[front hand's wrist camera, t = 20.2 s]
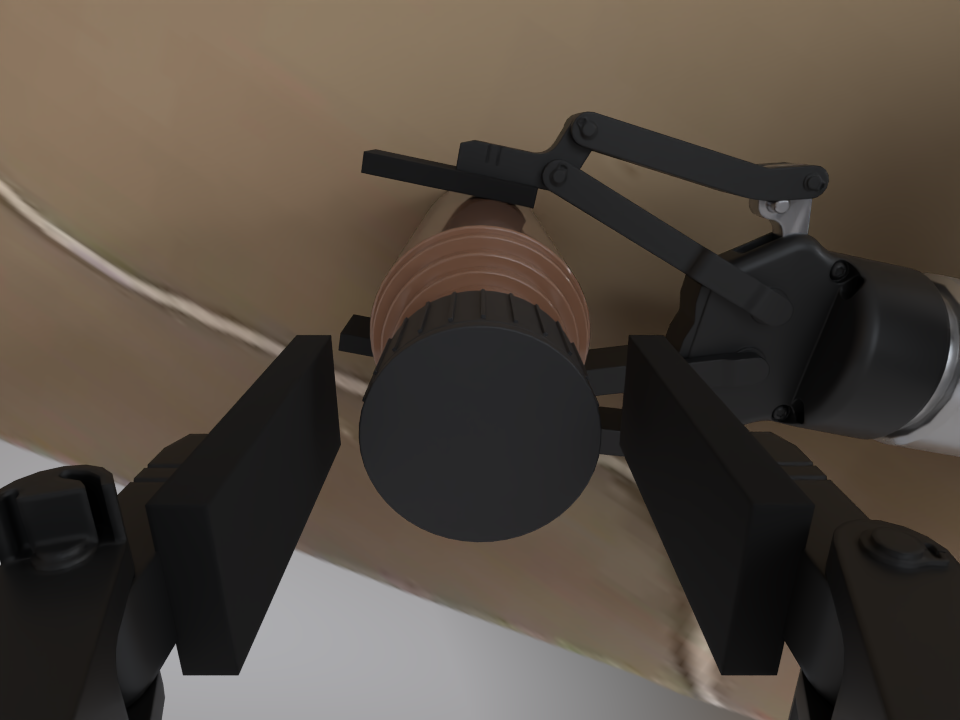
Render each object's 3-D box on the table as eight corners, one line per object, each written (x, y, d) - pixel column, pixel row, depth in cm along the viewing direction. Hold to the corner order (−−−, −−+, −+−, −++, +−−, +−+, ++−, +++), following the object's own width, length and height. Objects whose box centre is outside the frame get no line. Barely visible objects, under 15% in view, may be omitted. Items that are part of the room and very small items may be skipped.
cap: (335, 366, 14) (304, 417, 11) (504, 244, 13) (510, 270, 10) (459, 509, 15) (455, 581, 13) (621, 407, 14) (650, 465, 12)
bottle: (546, 299, 32) (643, 542, 13) (428, 312, 33) (354, 571, 13) (536, 174, 30) (634, 251, 11) (408, 190, 30) (288, 292, 11)
